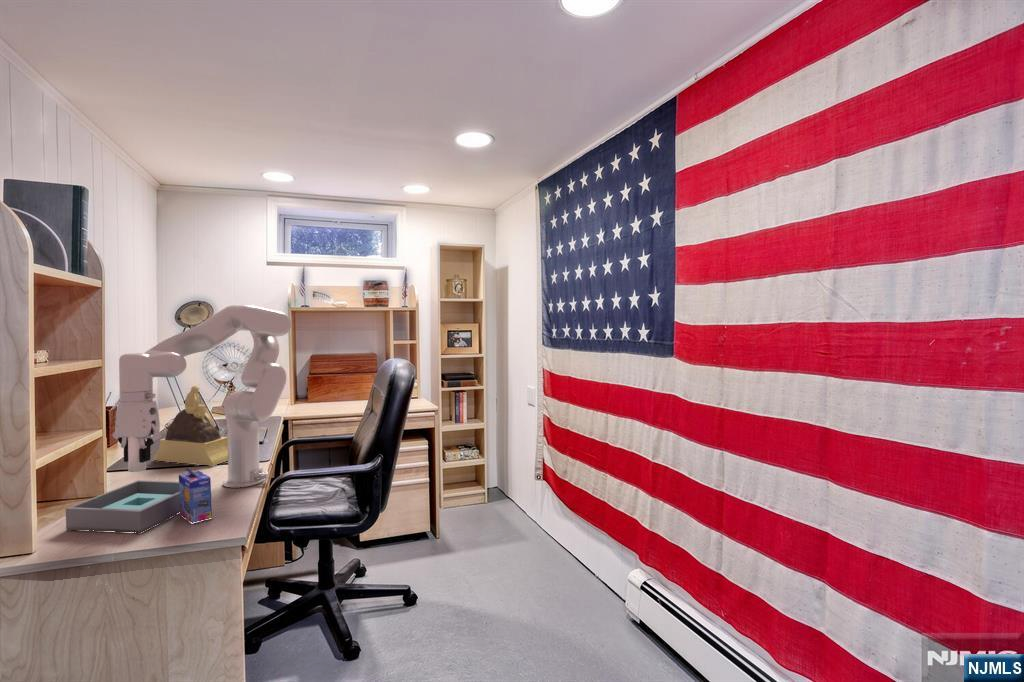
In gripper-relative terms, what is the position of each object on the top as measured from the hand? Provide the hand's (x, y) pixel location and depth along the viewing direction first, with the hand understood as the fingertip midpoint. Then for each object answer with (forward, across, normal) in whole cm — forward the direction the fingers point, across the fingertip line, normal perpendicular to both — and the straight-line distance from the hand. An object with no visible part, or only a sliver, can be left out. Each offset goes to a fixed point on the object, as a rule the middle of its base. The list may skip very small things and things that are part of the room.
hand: (137, 460), depth 141 cm
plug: (+3, 0, 0) cm, 3 cm away
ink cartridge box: (+16, -17, 0) cm, 24 cm away
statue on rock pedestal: (+16, +23, -54) cm, 61 cm away
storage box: (+16, 0, 0) cm, 16 cm away
